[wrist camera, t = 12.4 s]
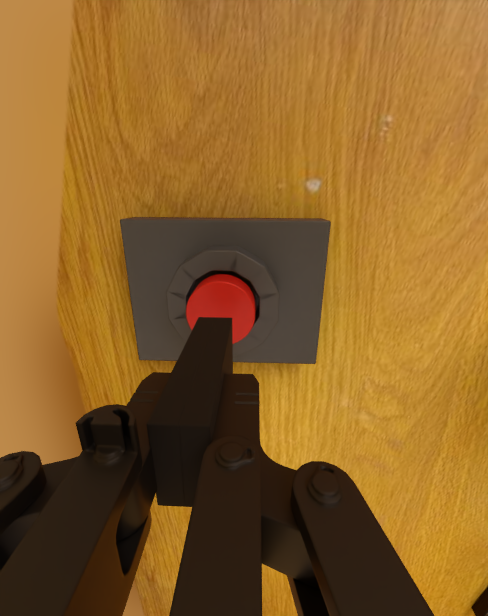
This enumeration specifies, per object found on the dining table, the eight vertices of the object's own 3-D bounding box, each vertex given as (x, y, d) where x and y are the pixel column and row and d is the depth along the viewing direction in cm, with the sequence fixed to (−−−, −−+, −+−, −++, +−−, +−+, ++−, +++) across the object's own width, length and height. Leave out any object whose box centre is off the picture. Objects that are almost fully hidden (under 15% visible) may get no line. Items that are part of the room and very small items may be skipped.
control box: (148, 346, 24) (129, 374, 20) (133, 217, 20) (105, 221, 16) (310, 349, 23) (321, 378, 20) (323, 218, 20) (339, 223, 16)
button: (193, 332, 19) (187, 345, 18) (189, 273, 18) (183, 280, 16) (254, 334, 19) (254, 347, 17) (255, 274, 18) (255, 281, 16)
